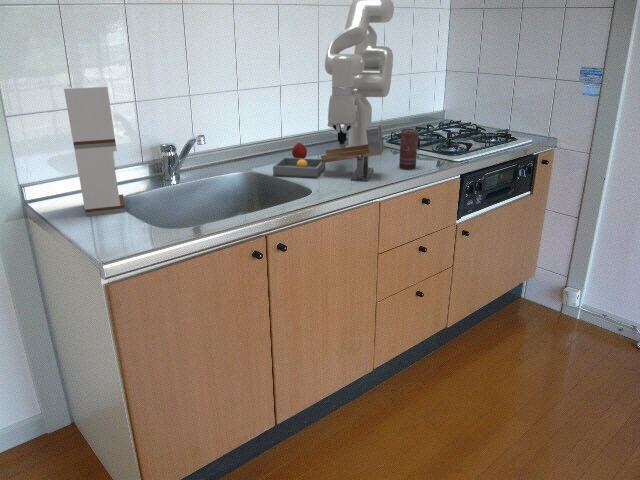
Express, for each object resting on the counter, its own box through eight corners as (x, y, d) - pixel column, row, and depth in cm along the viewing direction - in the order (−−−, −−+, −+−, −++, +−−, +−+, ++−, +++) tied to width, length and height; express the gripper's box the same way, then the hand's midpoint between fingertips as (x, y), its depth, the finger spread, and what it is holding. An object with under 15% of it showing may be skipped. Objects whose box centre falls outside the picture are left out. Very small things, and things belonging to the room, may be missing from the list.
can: (416, 170, 201) (418, 131, 195) (398, 169, 202) (400, 131, 197) (416, 166, 206) (419, 128, 201) (399, 165, 207) (401, 128, 202)
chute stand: (357, 169, 202) (357, 146, 198) (373, 170, 201) (374, 146, 197) (350, 180, 188) (351, 155, 185) (368, 181, 187) (368, 156, 184)
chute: (331, 152, 207) (327, 128, 204) (386, 144, 201) (383, 119, 198) (322, 162, 191) (317, 137, 188) (381, 154, 186) (377, 128, 183)
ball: (295, 162, 200) (303, 155, 198) (302, 171, 201) (310, 164, 199) (292, 165, 196) (301, 158, 195) (300, 173, 197) (308, 167, 195)
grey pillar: (125, 211, 159) (107, 87, 146) (86, 216, 155) (63, 88, 142) (124, 200, 169) (106, 82, 156) (86, 204, 165) (66, 84, 152)
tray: (284, 166, 207) (283, 157, 206) (325, 168, 204) (325, 159, 202) (273, 176, 194) (272, 166, 193) (317, 178, 191) (317, 168, 190)
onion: (309, 160, 216) (309, 140, 213) (303, 163, 211) (302, 143, 208) (296, 159, 218) (295, 139, 215) (289, 162, 213) (289, 141, 210)
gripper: (364, 91, 198) (363, 142, 205) (324, 90, 201) (324, 140, 208) (361, 93, 191) (360, 146, 198) (319, 92, 194) (320, 144, 201)
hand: (342, 143), depth 203 cm, fingers closed
